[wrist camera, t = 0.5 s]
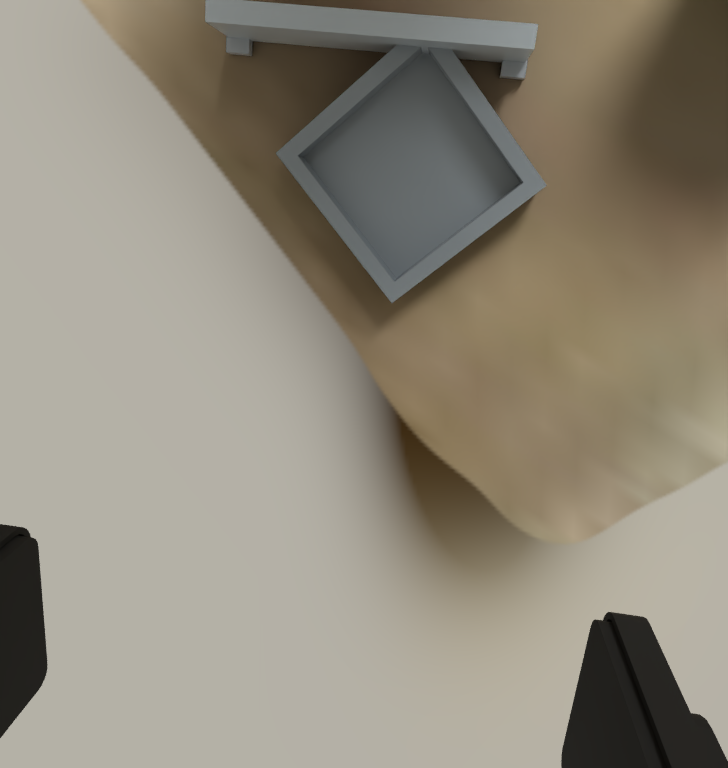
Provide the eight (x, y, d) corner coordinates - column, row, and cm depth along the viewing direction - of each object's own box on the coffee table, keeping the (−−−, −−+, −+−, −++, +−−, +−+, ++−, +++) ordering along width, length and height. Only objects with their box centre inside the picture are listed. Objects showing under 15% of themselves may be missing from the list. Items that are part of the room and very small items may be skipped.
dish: (286, 154, 35) (275, 153, 33) (429, 27, 33) (428, 16, 30) (395, 295, 37) (391, 303, 35) (539, 185, 34) (546, 185, 32)
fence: (231, 2, 33) (203, -21, 30) (531, 26, 32) (543, 6, 28) (229, 54, 34) (202, 38, 30) (523, 79, 33) (533, 67, 29)
